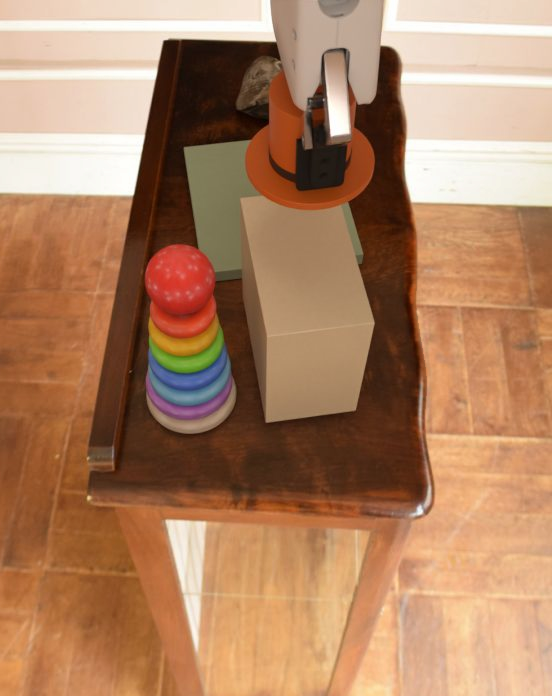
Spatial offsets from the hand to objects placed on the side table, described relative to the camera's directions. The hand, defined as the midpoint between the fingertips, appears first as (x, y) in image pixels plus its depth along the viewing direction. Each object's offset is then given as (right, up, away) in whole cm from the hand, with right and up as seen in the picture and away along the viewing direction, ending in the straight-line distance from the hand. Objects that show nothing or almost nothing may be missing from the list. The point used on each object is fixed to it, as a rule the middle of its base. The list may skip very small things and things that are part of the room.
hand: (310, 150), depth 53 cm
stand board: (-2, +3, +28) cm, 29 cm away
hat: (0, -1, +1) cm, 1 cm away
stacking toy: (-9, -17, +16) cm, 26 cm away
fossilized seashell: (-1, +16, +37) cm, 41 cm away
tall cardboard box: (0, -14, +18) cm, 23 cm away
